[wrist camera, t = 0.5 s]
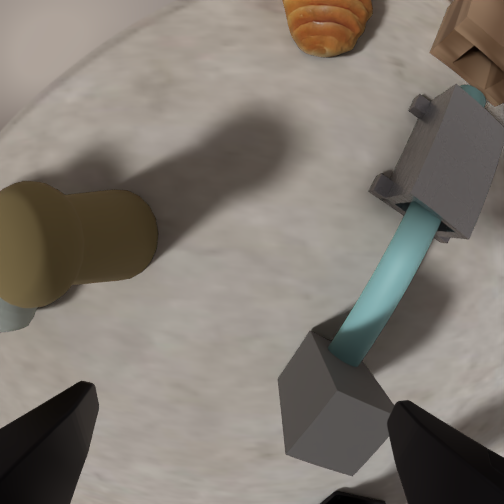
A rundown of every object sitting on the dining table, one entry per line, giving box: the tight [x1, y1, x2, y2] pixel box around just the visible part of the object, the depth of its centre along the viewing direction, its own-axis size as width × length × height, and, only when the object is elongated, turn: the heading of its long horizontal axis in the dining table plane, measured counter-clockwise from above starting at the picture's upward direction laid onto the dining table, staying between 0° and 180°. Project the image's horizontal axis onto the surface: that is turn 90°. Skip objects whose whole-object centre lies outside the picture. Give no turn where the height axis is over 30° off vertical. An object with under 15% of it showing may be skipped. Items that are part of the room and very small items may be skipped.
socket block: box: [430, 0, 504, 107], centre depth 15 cm, size 7×7×6 cm
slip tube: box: [278, 85, 486, 476], centre depth 16 cm, size 4×24×8 cm, turn 150°
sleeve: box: [368, 84, 504, 243], centre depth 17 cm, size 6×8×5 cm
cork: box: [0, 181, 158, 308], centre depth 15 cm, size 6×6×11 cm
